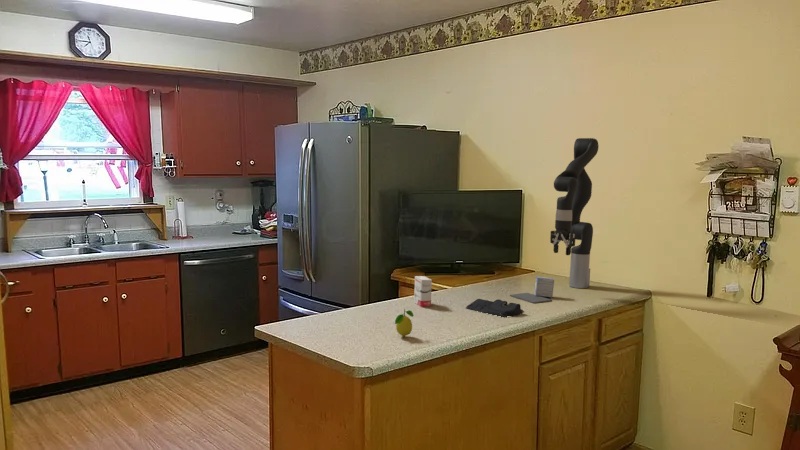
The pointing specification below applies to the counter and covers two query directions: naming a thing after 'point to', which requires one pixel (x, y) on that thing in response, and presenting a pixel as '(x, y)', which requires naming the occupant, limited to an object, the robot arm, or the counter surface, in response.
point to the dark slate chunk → (495, 307)
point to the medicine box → (544, 286)
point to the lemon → (404, 323)
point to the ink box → (422, 291)
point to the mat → (530, 298)
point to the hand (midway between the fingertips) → (561, 253)
